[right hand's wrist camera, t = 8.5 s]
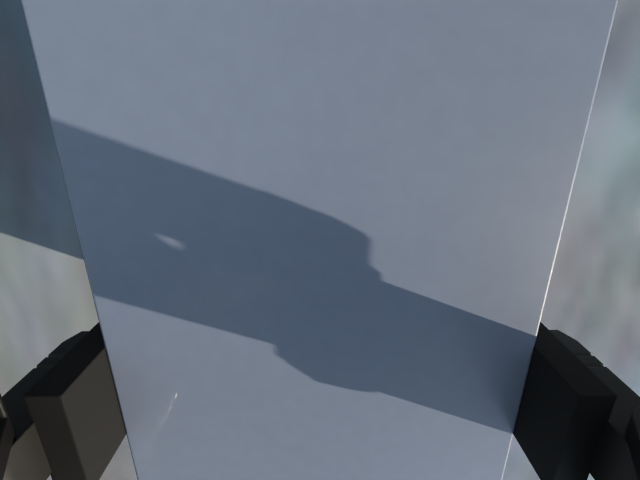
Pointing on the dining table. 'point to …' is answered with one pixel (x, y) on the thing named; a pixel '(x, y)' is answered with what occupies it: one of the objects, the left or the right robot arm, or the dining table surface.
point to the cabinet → (319, 220)
